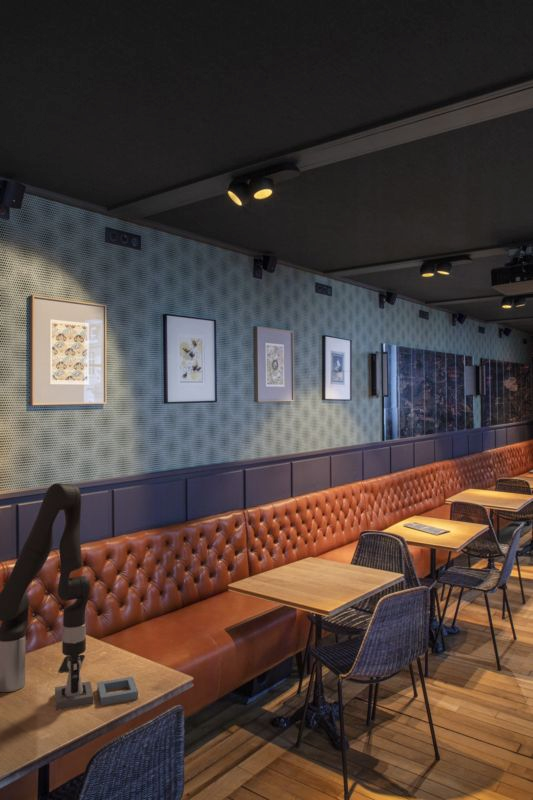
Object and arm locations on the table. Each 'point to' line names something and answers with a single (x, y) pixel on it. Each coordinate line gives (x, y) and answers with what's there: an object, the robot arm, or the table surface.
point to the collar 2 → (118, 696)
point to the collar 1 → (75, 700)
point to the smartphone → (65, 662)
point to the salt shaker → (68, 686)
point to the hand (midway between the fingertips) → (73, 687)
